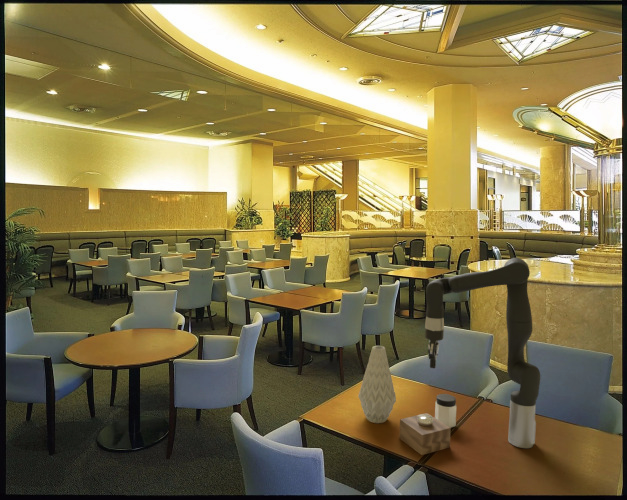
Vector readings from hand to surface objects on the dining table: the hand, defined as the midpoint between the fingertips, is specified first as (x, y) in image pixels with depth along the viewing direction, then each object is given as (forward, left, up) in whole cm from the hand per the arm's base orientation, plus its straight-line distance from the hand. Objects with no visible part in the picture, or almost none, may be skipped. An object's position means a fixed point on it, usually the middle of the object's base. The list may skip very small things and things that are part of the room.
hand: (432, 367), depth 187 cm
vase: (+16, -17, -27) cm, 36 cm away
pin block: (+10, +8, -27) cm, 30 cm away
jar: (-9, -1, -27) cm, 29 cm away
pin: (+10, +8, -26) cm, 29 cm away
